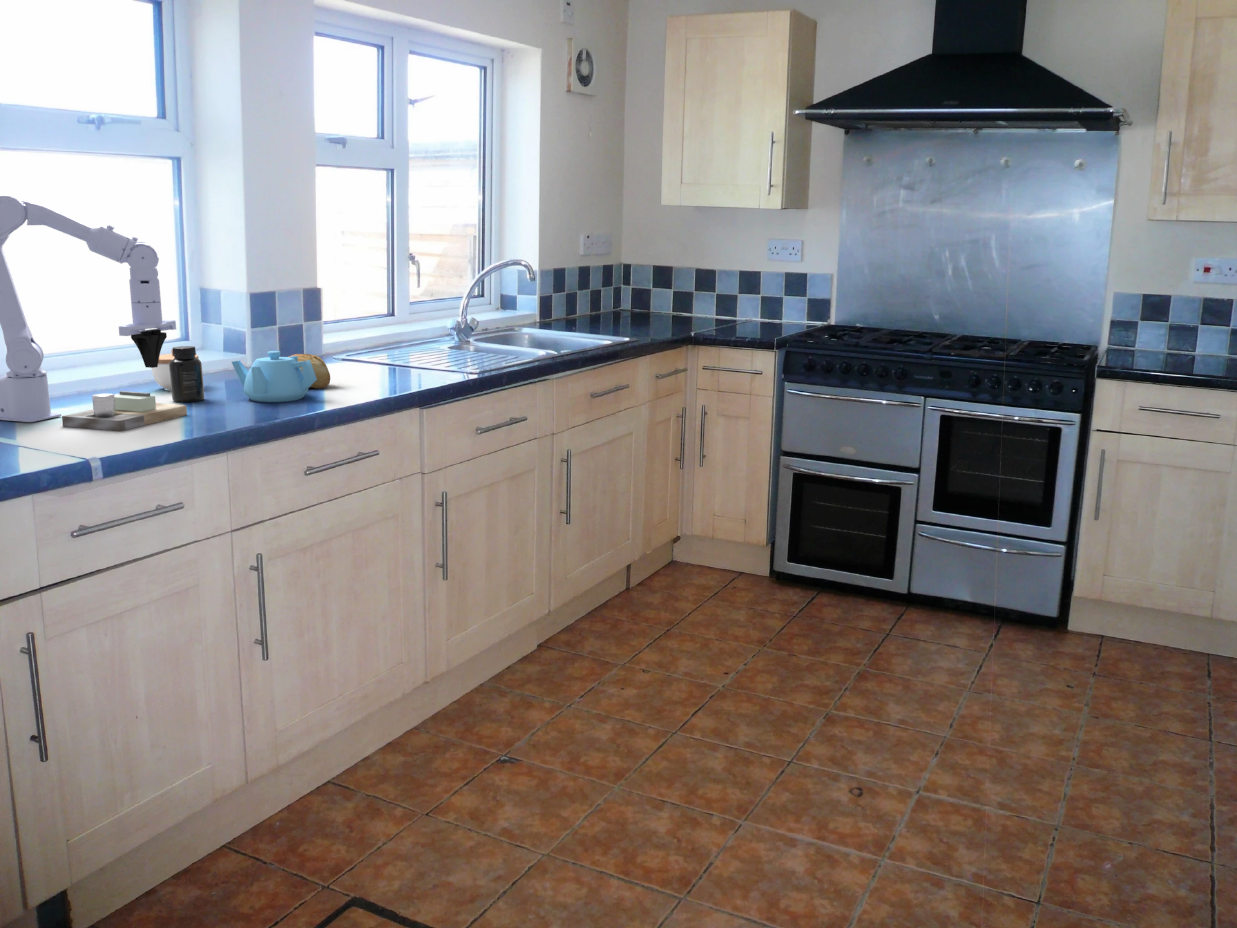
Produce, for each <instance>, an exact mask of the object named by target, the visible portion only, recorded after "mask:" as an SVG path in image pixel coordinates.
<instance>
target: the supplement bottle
mask: <svg viewBox="0 0 1237 928" xmlns="http://www.w3.org/2000/svg"><path fill="white" fill-rule="evenodd" d="M172 349H173V356H174V359H173V360H171V361H170V363H169V370H170V381H171V390H170V391H171V398H172V401H173V402H175V403H193V402H195V403H196V402H201V401H203V400H204V399H205V388H204V387H205V386H204V377H203V366H202V365H203V364H202V361H201V360H200V359H197V358H196V357H195V355H197V351H196V347H195V346H194V345H193V346H192V345H191V346H190V345H187V346H185V345H182V346H181V345H180V346H174V347H172ZM172 349H171V350H172Z"/></svg>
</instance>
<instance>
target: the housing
mask: <svg viewBox="0 0 1237 928" xmlns="http://www.w3.org/2000/svg"><path fill="white" fill-rule="evenodd" d="M187 410H188V408H187V405H186V404H185V405H184V404H173V403H158V402H156V409H153V410H148V411H144V412H137V411H124V410H116V416H114V417H109V418H99V417H94V411H93V409H90V410H84V411H79V412H75V413H70V414H66V415H61V421H62V427H69V428H70V427H71V428H81V429H82V428H83V429H90V430H91V429H93V430H105V431H115V432H116V431H117V432H121V431H127V430H131V429H133V428H139V427H142V426H146V425H147V426H148V425H150V424H155V423H159V422H162V421H167V420H172V419H175V418H180V417H183V416H187V415H188V411H187Z"/></svg>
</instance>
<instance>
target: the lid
mask: <svg viewBox="0 0 1237 928" xmlns="http://www.w3.org/2000/svg"><path fill="white" fill-rule="evenodd" d="M114 397H115V407H116V410H124V411H137V412H144V411H148V410H153V409H156V403H157V402H156V396H155V395H151V392H142V391H141V392H138V391H125V390H121V391H119V393H116V394H114Z"/></svg>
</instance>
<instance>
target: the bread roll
mask: <svg viewBox="0 0 1237 928" xmlns="http://www.w3.org/2000/svg"><path fill="white" fill-rule="evenodd" d="M291 356H298V362H302V361H307V360H310V361H311V364H312V367H313V370H314V373H315V375H316V378H317V380H316V381H315V382H314V383H313V384H312V385H311V386H310V387H309V388H311V389H325V388H327V387H328V386H329V384H330V383H331V373H330V371H329V369H328V365H326V362H325V361H324V360H323V359H322V358H321V357H320V356H319V355H316V354H310V353H309V354H308V353H295V354H292V355H289V356H288V357H291ZM300 368H301V370H302V371H303V369H302V366H301V367H300ZM303 373H304V372H303Z"/></svg>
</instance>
